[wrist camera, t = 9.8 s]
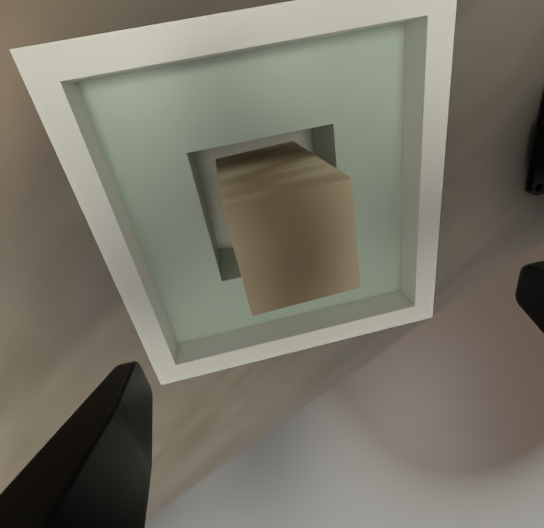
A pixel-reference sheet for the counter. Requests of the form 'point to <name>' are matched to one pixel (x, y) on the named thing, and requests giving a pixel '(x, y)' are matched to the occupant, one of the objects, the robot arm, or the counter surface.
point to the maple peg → (289, 225)
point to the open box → (246, 137)
